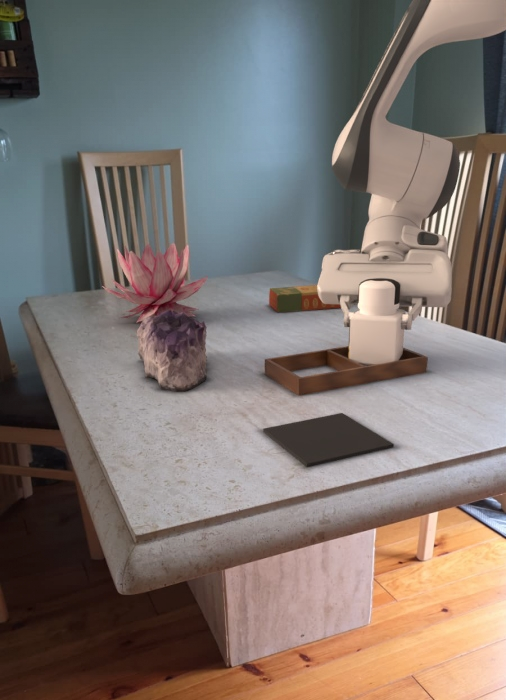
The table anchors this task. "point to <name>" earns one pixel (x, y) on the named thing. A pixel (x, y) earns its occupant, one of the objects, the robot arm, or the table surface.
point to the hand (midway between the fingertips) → (377, 326)
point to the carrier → (338, 370)
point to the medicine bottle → (377, 323)
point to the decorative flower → (157, 282)
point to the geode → (173, 350)
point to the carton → (297, 299)
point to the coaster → (326, 439)
